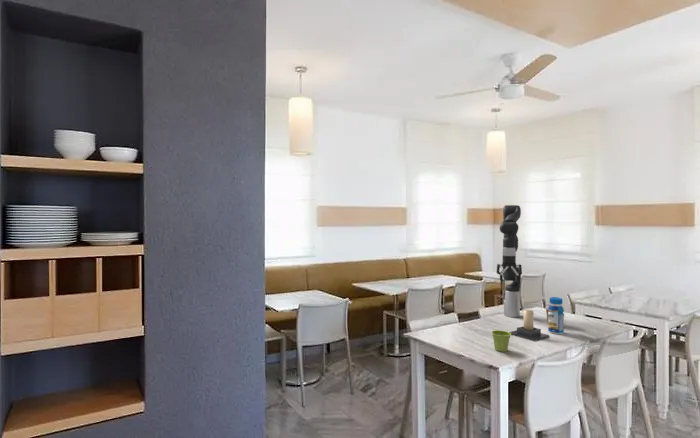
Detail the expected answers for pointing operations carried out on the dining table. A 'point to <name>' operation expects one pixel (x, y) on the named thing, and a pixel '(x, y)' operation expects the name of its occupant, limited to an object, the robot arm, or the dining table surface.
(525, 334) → the black socket base
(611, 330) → the dining table surface
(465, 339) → the dining table surface
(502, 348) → the plant pot
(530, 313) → the tan wooden block
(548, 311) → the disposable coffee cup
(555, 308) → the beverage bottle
